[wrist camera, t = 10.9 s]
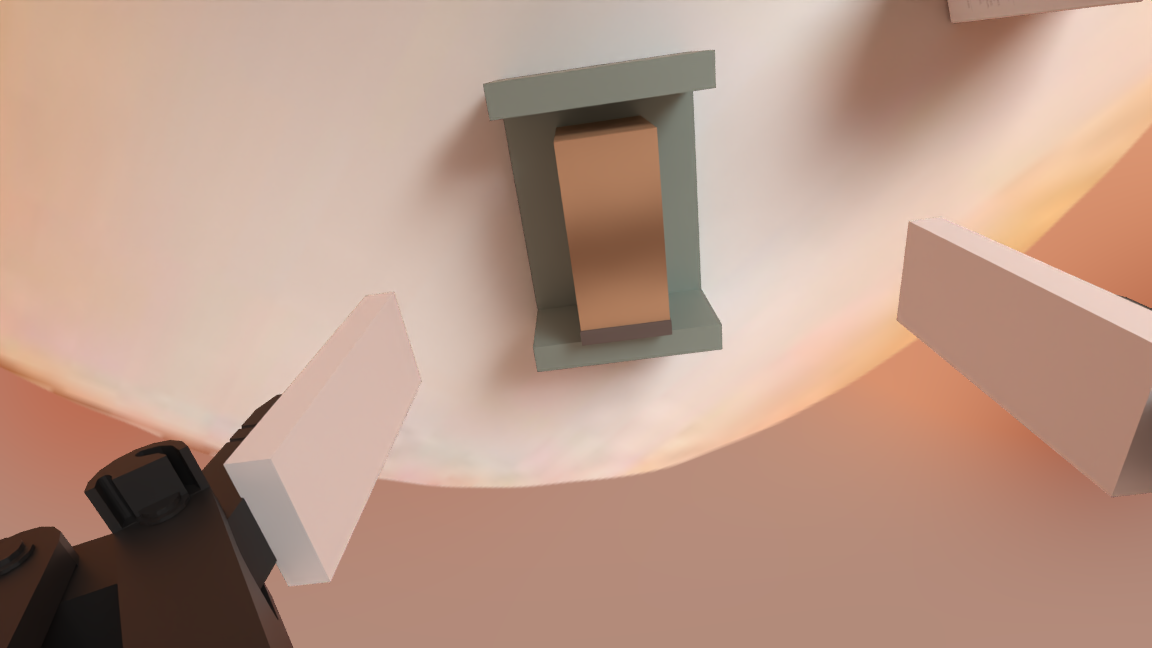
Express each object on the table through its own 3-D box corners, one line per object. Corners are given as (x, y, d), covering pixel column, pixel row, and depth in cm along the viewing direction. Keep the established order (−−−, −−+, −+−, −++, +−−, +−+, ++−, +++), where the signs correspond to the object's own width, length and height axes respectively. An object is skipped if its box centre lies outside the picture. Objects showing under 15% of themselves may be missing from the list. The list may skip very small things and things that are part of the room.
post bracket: (498, 79, 30) (483, 84, 24) (687, 52, 29) (714, 49, 24) (542, 324, 36) (537, 372, 30) (698, 304, 35) (722, 349, 30)
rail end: (555, 127, 30) (552, 142, 24) (641, 115, 29) (658, 127, 24) (579, 299, 34) (582, 345, 28) (655, 289, 34) (672, 334, 28)
